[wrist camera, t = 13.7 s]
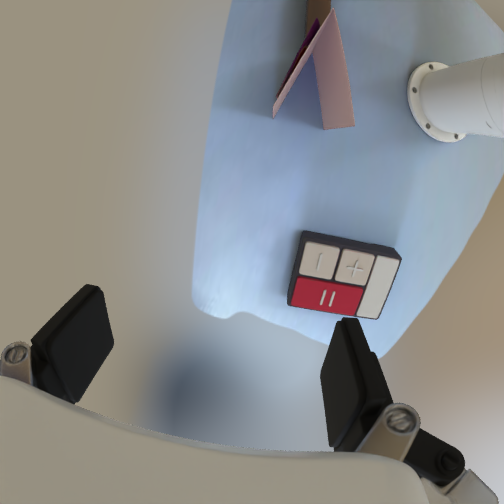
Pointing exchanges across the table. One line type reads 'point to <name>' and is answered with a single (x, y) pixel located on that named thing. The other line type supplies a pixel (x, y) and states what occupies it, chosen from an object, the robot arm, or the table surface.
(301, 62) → the greeting card
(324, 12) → the walnut bar
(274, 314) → the table surface
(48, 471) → the robot arm
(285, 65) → the table surface
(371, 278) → the calculator
